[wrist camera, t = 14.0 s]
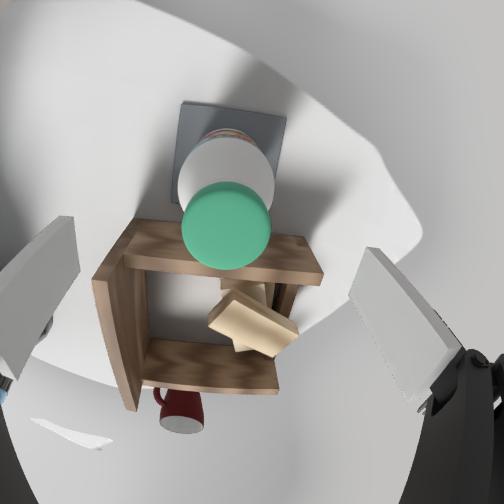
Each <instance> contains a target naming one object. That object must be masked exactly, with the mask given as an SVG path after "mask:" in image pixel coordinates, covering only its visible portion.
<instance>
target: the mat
mask: <svg viewBox="0 0 504 504" xmlns="http://www.w3.org/2000/svg"><path fill="white" fill-rule="evenodd" d="M285 124H286V118H283V117H278V116H273V115H267V114H262V113H255V112H249V111H242V110H235V109H227V108H219V107H210V106H199V105H187V104H181V109H180V116H179V124H178V132H177V140H176V150H175V160H174V170H173V182H172V196H171V203H180V201H179V197H178V179H179V174H180V170H181V168H182V166H183V164H184V162H185V160H186V158H187V156H188V155H189V154H190V152H191V151H192V149H193V148H194V147H195V146H196V145H197V143H198V142H199V141H200V140H201V139H202V138H203V137H204V136H206V135H207V134H209V133H210V132H212V131H215V130H218V129H225V128H229V129H235V130H239V131H241V132H243V133H245V134H246V135H248V136H249V137H250V138H251V139H252V140H253V141H254V142H255V143H256V145H257V146H258V147H259V148H260V150H261V151H262V152H263V154H264V155H265V157H266V158H267V160H268V162H269V164H270V166H271V169H272V171H273V176H274V180H275V175H276V170H277V165H278V160H279V155H280V149H281V144H282V139H283V134H284V129H285Z"/></svg>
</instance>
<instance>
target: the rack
mask: <svg viewBox="0 0 504 504" xmlns="http://www.w3.org/2000/svg"><path fill="white" fill-rule="evenodd" d="M181 226H182V223H176V222H166V221H156V220H146V219H135V218H133V219H132V221H131V222H130V223H129V225H128V226H127V227H126V229H125V230H124V232H123V233H122V234H121V236H120V237H119V239H118V240H117V241H116V243H115V244H114V246H113V247H112V249H111V250H110V252H109V253H108V254H107V256H106V257H105V259H104V260H103V262H102V264H101V265H100V267H99V268H98V270H97V271H96V273H95V274H94V276H93V277H92V279H91V281H92V287H93V292H94V297H95V303H96V307H97V312H98V317H99V321H100V325H101V330H102V334H103V338H104V341H105V345H106V349H107V352H108V356H109V359H110V363H111V366H112V369H113V373H114V376H115V379H116V382H117V385H118V388H119V391H120V394H121V397H122V399H123V402H124V405H125V408H126V410H130V411H135V412H137V408H138V403H139V397H140V392H141V387H142V385H145V386H152V387H159V388H166V389H175V390H184V391H194V392H207V393H223V394H252V395H255V394H256V395H257V394H258V395H276V394H278V391H279V384H278V379H277V373H276V368H275V363H274V359H275V357H276V355H275V356H274V357H273V358H272V357H270V356H268V355H266V354H263V353H261V352H259V351H257V350H247V351H240V352H235V348H234V346H228V345H215V344H203V343H192V342H183V341H174V340H165V339H157V338H150V330H149V319H148V307H147V292H146V273H145V270H153V271H161V272H170V273H179V274H189V275H198V276H208V277H218V278H229V279H239V280H250V281H262V282H274V283H280V287H279V291H278V294H277V298H276V302H275V305H274V309H273V311H275V312H277V313H279V314H280V315H282V316H284V317H286V318H289V315H290V312H291V308H292V305H293V302H294V299H295V296H296V293H297V289H298V286H299V285H312V286H320V284H321V281H322V278H323V275H324V273H323V271H322V269H321V267H320V265H319V264H318V262H317V260H316V258H315V256H314V254H313V252H312V251H311V249H310V247H309V245H308V243H307V242H306V240H305V238H304V237H300V236H292V235H284V234H276V233H271V234H270V238H269V241H268V244H267V246H266V248H265V250H264V251H263V252H262V254H261V255H260V256H259V257H258V258H257V259H256V260H254V261H253V262H251V263H250V264H248V265H246V266H243V267H241V268H237V269H231V270H221V269H215V268H211V267H209V266H206V265H204V264H202V263H201V262H199V261H198V260H197V259H195V258H194V257H193V256H192V255H191V253H190V252H189V251H188V249H187V247H186V245H185V243H184V240H183V237H182V229H181Z"/></svg>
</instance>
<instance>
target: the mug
mask: <svg viewBox="0 0 504 504" xmlns="http://www.w3.org/2000/svg"><path fill="white" fill-rule="evenodd" d="M153 394H154V398H155V400H156V402H157V403H158V404H159V405H161V406H162V408H161V412H160V424H161V426H162V427H164V428H165V429H167V430H170V431H172V432H176V433H182V434H192V433H197V432H200V431H201V430H202V429H203V427H204V413H203V408H202V402H201V397H200V393H199V392H194V391H184V390H175V389H168V390H167V393H166V396H165V399H164V400H163V399H162V398H161V395H160V388H159V387H155V388H154V391H153Z"/></svg>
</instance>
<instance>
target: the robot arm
mask: <svg viewBox="0 0 504 504" xmlns="http://www.w3.org/2000/svg"><path fill="white" fill-rule="evenodd" d="M79 273H80V265H79V258H78V252H77V244H76V236H75V227H74V217H72V216H59V217H57V218H56V219H55V220H54V221H53V222H52V223H50V224H49V225H48V226H47V227H46V228H45V229H44V230H42V231H41V232H40V233H39V234H38V235H37V236H36V237H35V238H34V239H33V240H32V241H30V242H29V243H28V244H27V245H26V246H25V247H24V248H23V249H22V250H21V251H20V252H19V253H18V254H17V255H16V256H15V257H14V258H13V259H12V260H11V261H10V262H9V263H8V264H7V265H6V266H5V267H4V268H3V269H1V270H0V504H39V503H38V502H37V500H36V498H35V496H34V494H33V492H32V490H31V488H30V485H29V483H28V481H27V479H26V477H25V475H24V472H23V470H22V468H21V465H20V463H19V460H18V458H17V455H16V452H15V450H14V447H13V444H12V442H11V438H10V436H9V432H8V429H7V426H6V422H5V419H4V415H3V411H2V407H1V405H2V403H3V401H4V399H5V398H6V396H7V395H8V391H9V389H10V386H11V384H12V382H13V380H16V381H18V379H19V377H20V374H21V372H22V370H23V368H24V366H25V364H26V362H27V360H28V358H29V356H30V354H31V352H32V350H33V348H34V347H35V345H37V344H38V343H39V342H40V341H42V340H43V339H44V338H45V337H46V336H47V334H48V332H49V331H50V329H51V327H52V315H53V313H54V311H55V310H56V308H57V306H58V305H59V303H60V302H61V300H62V298H63V297H64V295H65V294H66V292H67V291H68V289H69V288H70V286H71V284H72V283H73V281H74V280H75V279H76V277H77V276H78V274H79ZM348 296H349V298H350V299H351V301H352V303H353V304H354V306H355V308H356V309H357V311H358V313H359V315H360V317H361V318H362V320H363V322H364V324H365V325H366V327H367V329H368V331H369V332H370V334H371V336H372V338H373V340H374V341H375V343H376V345H377V347H378V349H379V350H380V352H381V354H382V356H383V358H384V360H385V362H386V363H387V365H388V367H389V369H390V371H391V373H392V375H393V377H394V379H395V380H396V383H397V385H398V387H399V389H400V391H401V392H402V394H403V397H404V399H405V401H406V402H408V401H412V400H415V399H419V398H421V397H422V396H423V395H424V394H425V392H426V391H427V390H428V389H429V388H430V389H431V391H432V394H431V396H430V397H429V398H428V399H427V400H426V401H425V402H424V403H423V404H422V405H421V406H420V407H419V409H418V411H417V412H418V413H419V412H420V411H421V410H422V409H423V408H424V407H425V408H426V411H424V412H423V415H425V417H424V421H423V426H422V430H421V435H420V439H419V443H418V446H417V450H416V454H415V457H414V461H413V464H412V467H411V471H410V474H409V477H408V480H407V482H406V486H405V488H404V491H403V494H402V496H401V499H400V501H399V504H504V354H501V355H500V356H499V357H498V359H497V360H496V361H495V363H489V361H488V360H487V359H486V357H485V356H484V355H483V354H482V353H480V352H479V351H477V350H474V349H469V350H467V351H466V350H465V348H464V347H463V346H462V344H461V343H460V342H459V340H458V339H457V338H456V336H455V335H454V334H453V332H452V331H451V330H450V328H448V327H447V325H446V323H445V322H444V321H442V318H441V317H440V316H439V315H438V313H437V312H436V311H435V310H434V309H433V308H432V307H431V306H430V305H429V304H428V303H427V301H426V300H425V299H424V298H423V297H422V295H421V294H420V293H419V292H418V291H417V290H416V288H415V287H414V286H413V285H412V284H411V283H410V282H409V281H408V279H407V278H406V277H405V276H404V275H403V274H402V273H401V271H400V270H399V269H398V268H397V267H396V266H395V265H394V264H393V263H392V262H391V260H390V259H389V258H388V257H387V256H386V255H385V254H384V253H383V252H382V251H381V250H380V249H379V248H372V247H366V249H365V252H364V255H363V257H362V260H361V263H360V265H359V268H358V271H357V273H356V276H355V278H354V281H353V284H352V286H351V288H350V291H349V293H348ZM500 396H501V399H502V402H501V403H500V404H499V405H498V406H497V407H496V408H495V410H494V407H493V403H494V402H495V401H496V400H497V399H498V398H499V397H500Z"/></svg>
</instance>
